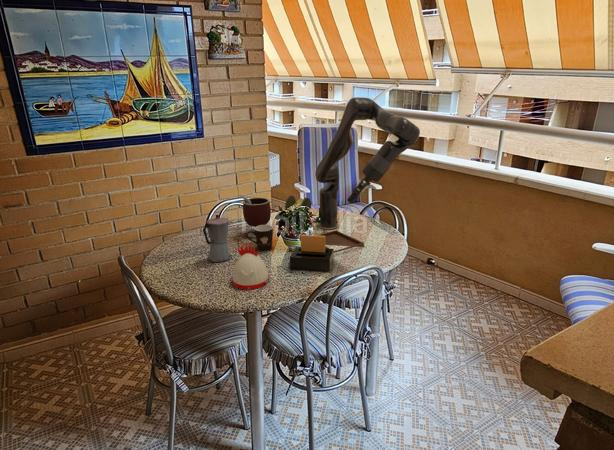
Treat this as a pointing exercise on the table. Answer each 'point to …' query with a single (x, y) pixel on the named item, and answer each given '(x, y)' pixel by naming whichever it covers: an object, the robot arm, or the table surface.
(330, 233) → the tray
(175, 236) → the table surface
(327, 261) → the low dark brown box
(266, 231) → the coffee mug
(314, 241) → the toast
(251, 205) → the mate gourd
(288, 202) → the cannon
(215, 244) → the moka pot
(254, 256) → the kitchen timer
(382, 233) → the table surface
